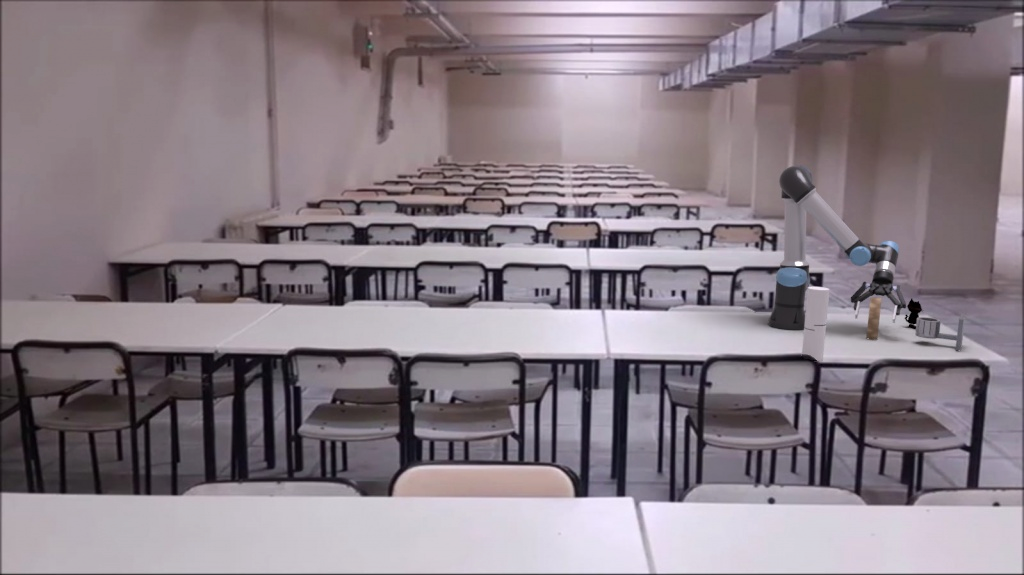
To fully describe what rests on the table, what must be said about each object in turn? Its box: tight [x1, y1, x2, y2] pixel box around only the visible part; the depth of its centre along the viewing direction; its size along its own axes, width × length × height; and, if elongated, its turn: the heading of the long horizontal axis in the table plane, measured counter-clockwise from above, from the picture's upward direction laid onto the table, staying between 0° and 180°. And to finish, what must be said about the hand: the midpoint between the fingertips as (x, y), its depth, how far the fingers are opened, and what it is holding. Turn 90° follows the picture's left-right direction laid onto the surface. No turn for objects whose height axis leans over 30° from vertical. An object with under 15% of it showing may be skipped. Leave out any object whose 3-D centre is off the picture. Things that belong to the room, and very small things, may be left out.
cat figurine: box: [904, 297, 924, 330], centre depth 374 cm, size 7×7×12 cm
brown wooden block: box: [865, 296, 883, 340], centre depth 350 cm, size 4×4×16 cm
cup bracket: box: [915, 313, 967, 351], centre depth 343 cm, size 16×12×12 cm
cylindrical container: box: [801, 286, 830, 362], centre depth 315 cm, size 7×7×25 cm
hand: (874, 318), depth 349 cm, fingers open, 13 cm apart
